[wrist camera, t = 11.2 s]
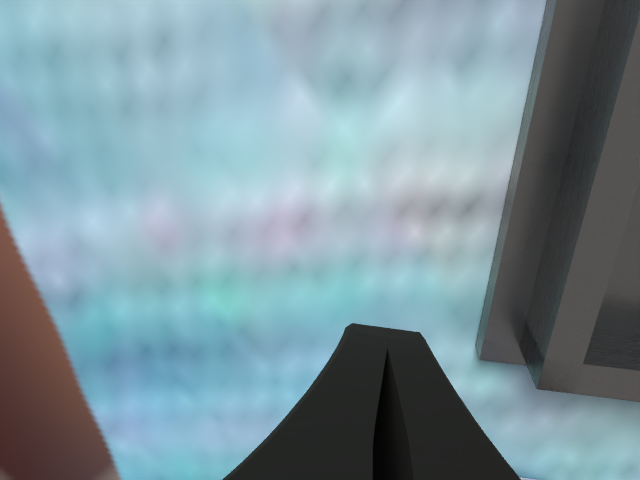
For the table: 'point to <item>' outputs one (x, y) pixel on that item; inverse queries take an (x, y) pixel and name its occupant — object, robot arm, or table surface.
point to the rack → (574, 211)
